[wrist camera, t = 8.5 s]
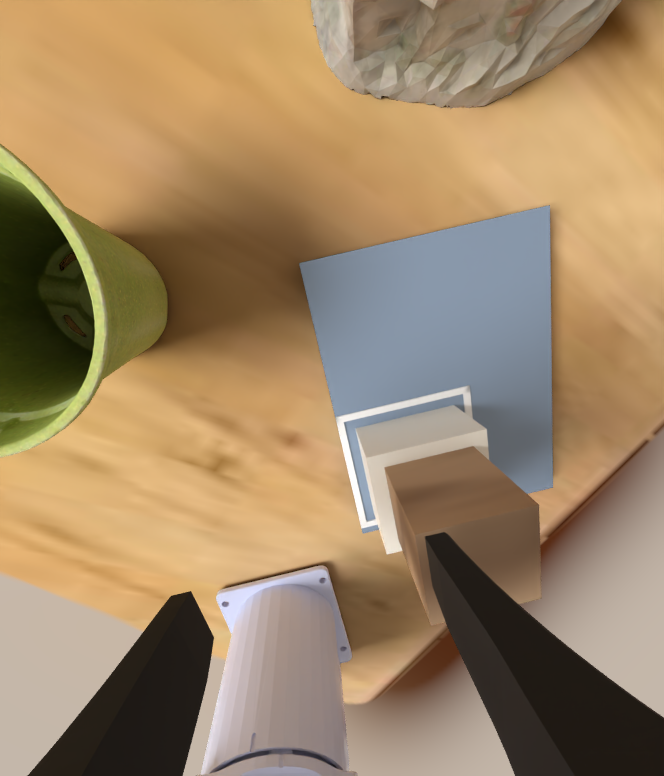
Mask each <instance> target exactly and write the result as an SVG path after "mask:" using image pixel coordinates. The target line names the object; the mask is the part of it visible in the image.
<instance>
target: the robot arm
mask: <svg viewBox="0 0 664 776" xmlns="http://www.w3.org/2000/svg"><path fill="white" fill-rule="evenodd" d="M425 542H426V549H427V555H428V562H429V568H430V574H431V581H432V587H433V589H434V592H435V595H436V598H437V600H438V603H439V606H440V608H441V611H442V614H443V616H444V619H445V622H446V624H447V627H448V629H449V631H450V633H451V635H452V637H453V640H454V642H455V644H456V646H457V648H458V650H459V652H460V654H461V656H462V659H463V661H464V663H465V665H466V667H467V669H468V671H469V673H470V675H471V678H472V680H473V682H474V684H475V686H476V688H477V690H478V692H479V694H480V697H481V699H482V701H483V703H484V705H485V707H486V709H487V712H488V714H489V716H490V718H491V720H492V722H493V724H494V726H495V729H496V731H497V733H498V735H499V738H500V740H501V742H502V744H503V747H504V749H505V751H506V754H507V756H508V759H509V761H510V764H511V766H512V769H513V771H514V774H515V776H664V718H663V717H662V716H660V715H659V714H658V713H656V712H655V711H653V710H652V709H651V708H649V707H647V706H646V705H645V704H643V703H642V702H640V701H639V700H638V699H636V698H635V697H634V696H632V695H631V694H629V693H628V692H627V691H625V690H624V689H623V688H621V687H620V686H619V685H617V684H616V683H615V682H613V681H612V680H611V679H609V678H608V677H607V676H605V675H604V674H603V673H601V672H600V671H599V670H597V669H596V668H595V667H593V666H592V665H591V664H590V663H588V662H587V661H586V660H585V659H583V658H582V657H581V656H579V655H578V654H577V653H575V652H574V651H573V650H572V649H571V648H569V647H568V646H567V645H566V644H564V643H563V642H562V641H561V640H559V639H558V638H557V637H556V636H555V635H553V634H552V633H551V632H550V631H549V630H547V629H546V628H545V627H544V626H542V624H540V623H539V622H538V621H537V620H536V619H535V618H533V617H532V616H531V615H530V614H529V613H528V612H526V611H525V610H524V609H523V608H522V607H521V606H520V605H519V604H518V603H516V602H515V601H514V600H513V599H512V598H511V597H510V596H509V595H508V594H507V593H506V592H505V591H503V590H502V589H501V588H500V587H499V586H498V585H497V584H496V583H495V582H494V581H493V580H492V579H491V578H490V577H489V576H488V575H487V574H486V573H485V572H483V571H482V570H481V569H480V568H479V566H478V565H477V564H476V563H475V562H474V561H473V560H472V559H471V558H470V557H469V556H468V555H467V554H466V553H465V552H464V551H463V550H462V549H461V548H460V547H459V546H458V545H457V543H456V542H455V541H454V540H453V539H452V538H451V537H450V536H449V534H447V533H445V532H442V533H438V534H433V535H429V536H425ZM321 578H324V579H321ZM216 600H217V602H218V605H219V607H220V609H221V611H222V614H223V616H224V618H225V620H226V623H227V625H228V627H229V630H230V632H231V634H232V636H231V641H230V645H229V650H228V654H227V659H226V663H225V668H224V672H223V677H222V682H221V686H220V690H219V695H218V699H217V704H216V708H215V713H214V717H213V722H212V726H211V731H210V736H209V740H208V745H207V749H206V753H205V758H204V762H203V767H202V771H201V775H196V776H357V773H356V772H353V771H349V756H348V745H347V734H346V723H345V712H344V701H343V690H342V679H341V668H340V663H344V662H348V661H350V660H351V658H352V651H351V648H350V644H349V641H348V637H347V634H346V630H345V627H344V624H343V620H342V617H341V613H340V610H339V606H338V603H337V599H336V596H335V592H334V589H333V586H332V582H331V579H330V575H329V572H328V569H327V567H325V566H322V565H321V566H316V567H312V568H307V569H303V570H299V571H295V572H291V573H287V574H283V575H279V576H275V577H270V578H266V579H262V580H258V581H254V582H250V583H246V584H242V585H237V586H233V587H229V588H225V589H222V590H220V591H218V593H217V597H216ZM225 601H227V602H225ZM213 640H214V637H213V635H212V633H211V631H210V629H209V627H208V624H207V622H206V620H205V618H204V616H203V614H202V612H201V610H200V608H199V606H198V604H197V602H196V600H195V598H194V596H193V594H192V592H191V591H190V592H186V593H181V594H177V595H173V596H171V597H170V598H169V599H168V601H167V602H166V603H165V604H164V606H163V607H162V608H161V610H160V611H159V612H158V613H157V615H156V616H155V617H154V619H153V620H152V621H151V623H150V624H149V625H148V627H147V628H146V629H145V631H144V632H143V633H142V635H141V636H140V637H139V639H138V640H137V641H136V642H135V644H134V645H133V647H132V648H131V649H130V651H129V652H128V653H127V654H126V656H125V657H124V658H123V659H122V661H121V662H120V663H119V665H118V666H117V667H116V669H115V670H114V671H113V672H112V674H111V675H110V676H109V678H108V679H107V680H106V682H105V683H104V684H103V685H102V687H101V688H100V689H99V690H98V692H97V693H96V694H95V695H94V697H93V698H92V699H91V700H90V702H89V703H88V704H87V705H86V706H85V708H84V709H83V710H82V711H81V713H80V714H79V715H78V716H77V717H76V719H75V720H74V721H73V723H72V724H71V725H70V726H69V727H68V729H67V730H66V731H65V732H64V734H63V735H62V736H61V738H59V740H58V741H57V742H56V743H55V744H54V746H53V747H52V748H51V749H50V750H49V752H48V753H47V754H46V755H45V756H44V757H43V759H42V760H41V761H40V762H39V763H38V764H37V766H36V767H35V768H34V769H33V770H32V771H31V772H30V774H29V775H28V776H183V772H184V768H185V764H186V760H187V757H188V752H189V749H190V745H191V742H192V737H193V734H194V730H195V726H196V723H197V719H198V715H199V710H200V707H201V703H202V699H203V695H204V691H205V687H206V683H207V678H208V672H209V667H210V660H211V654H212V647H213Z"/></svg>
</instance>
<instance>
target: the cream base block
mask: <svg viewBox="0 0 664 776" xmlns="http://www.w3.org/2000/svg"><path fill="white" fill-rule="evenodd" d="M355 429H356V433H357V438H358V443H359V447H360V452H361V456H362V461H363V466H364V470H365V475H366V479H367V484H368V489H369V493H370V498H371V502H372V507H373V512H374V515H375V518H376V521H377V524H378V528H379V531H380V534H381V537H382V540H383V544H384V547H385V550H386V553H387V554H391V553H395V552H399V551H402V548H401V545H400V543H399V540H398V535H397V530H396V525H395V520H394V515H393V509H392V504H391V499H390V494H389V489H388V484H387V479H386V474H385V469H384V467H388V466H392V465H396V464H400V463H405V462H409V461H413V460H417V459H421V458H425V457H430V456H434V455H438V454H442V453H446V452H450V451H455V450H459V449H463V448H467V447H471V446H474V447H475V448H476V449H477V450H478V451H479V452H481V453H482V454H483V455H484V456H485V457H486V458H487V459H488V460H489V451H488V438H487V429H486V428H485V427H483V426H482V425H480V424H479V423H478V422H476V421H475V420H474V419H472V418H471V417H470V416H468V415H467V414H465V413H464V412H463V411H461V410H460V409H459V408H457V407H456V406H455V405H452V406H448V407H444V408H439V409H435V410H431V411H427V412H423V413H418V414H414V415H410V416H406V417H402V418H397V419H393V420H389V421H385V422H381V423H376V424H372V425H368V426H364V427H360V428H355Z"/></svg>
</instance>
